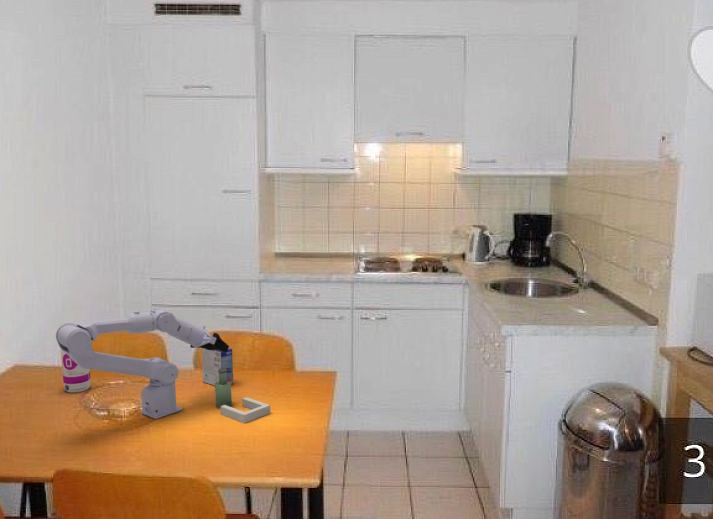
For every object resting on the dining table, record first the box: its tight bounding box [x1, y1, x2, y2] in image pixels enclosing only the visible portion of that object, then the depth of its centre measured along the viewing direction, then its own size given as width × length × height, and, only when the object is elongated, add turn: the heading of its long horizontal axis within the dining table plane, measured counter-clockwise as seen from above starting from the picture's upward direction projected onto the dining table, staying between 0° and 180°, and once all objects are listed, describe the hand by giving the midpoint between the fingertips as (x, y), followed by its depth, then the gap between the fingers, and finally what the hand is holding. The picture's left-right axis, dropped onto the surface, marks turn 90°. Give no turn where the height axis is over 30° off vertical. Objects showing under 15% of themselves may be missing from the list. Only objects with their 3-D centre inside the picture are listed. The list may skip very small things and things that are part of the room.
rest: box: [220, 396, 271, 424], centre depth 194 cm, size 10×11×2 cm
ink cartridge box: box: [201, 347, 234, 386], centre depth 221 cm, size 10×6×14 cm, turn 53°
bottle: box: [214, 368, 233, 410], centre depth 200 cm, size 5×5×11 cm
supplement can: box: [60, 348, 92, 394], centre depth 217 cm, size 8×8×15 cm
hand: (220, 348), depth 208 cm, fingers open, 7 cm apart
